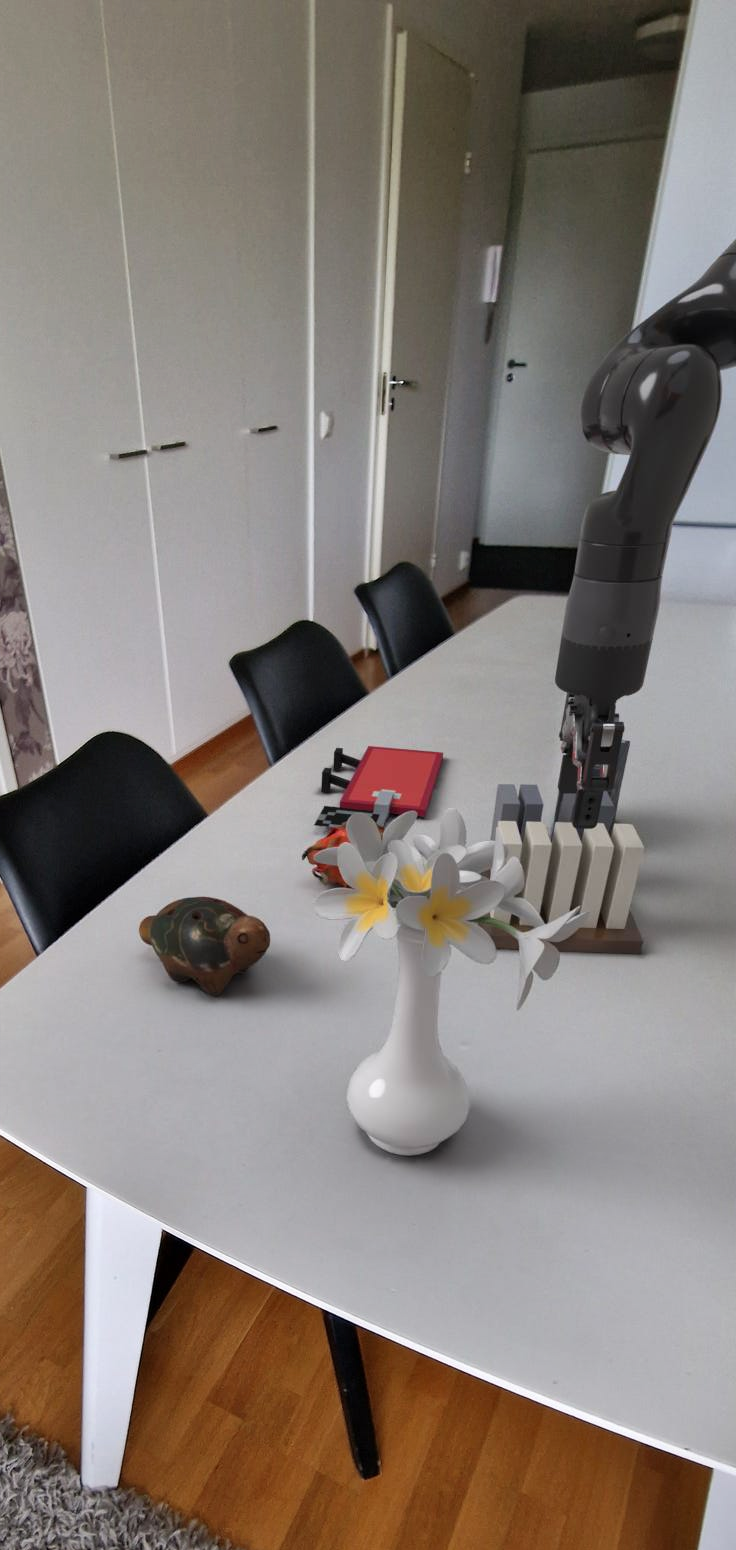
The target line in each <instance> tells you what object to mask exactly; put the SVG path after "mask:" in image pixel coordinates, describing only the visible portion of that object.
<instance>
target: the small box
mask: <svg viewBox="0 0 736 1550" xmlns="http://www.w3.org/2000/svg"><path fill="white" fill-rule="evenodd" d="M630 747H631V741H630V740H624V739H622V742H621V747H620V753H619V758H618V764H617V769H616V774H615V780H614V787H613V789H612V791H607V792H608V794H609V797H610V799H611V801H612V803H613V805H614V810H613V814H612V819H611V823H610V828H609V833H608V834H609V835H610V833H611V831H612V829H613V827H614V824H615V821H616V816H617V811H618V805H619V798H620V794H621V789H622V784H623V780H624V775H625V770H626V765H627V762H628V761H627V760H628V756H629V751H630ZM592 777H600V767H599V766H594V767H593V773H592ZM563 794H564V793H560V792H559V790H558V791H557V796H556V797H557V798H556V803H555V808H554V815H553V821H552V829H551V834H550V841H551V844H552V838H553V833H554V827H555V822H559V816H560V811H561V805H562V800H563Z"/></svg>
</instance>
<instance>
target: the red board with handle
mask: <svg viewBox="0 0 736 1550" xmlns="http://www.w3.org/2000/svg"><path fill="white" fill-rule="evenodd" d="M443 759H444V752H441V751H429V750H419V749H407V748H396V747H386V746H376V745H375V746H374V745H368V746H367V747H366V750H365V752H364V753H363V756H362V757H361V759H358V758H355V757H353V756H350V755H347V754H344V748H343V747H336V748H335V750H334V751H333V764H332V765H333V766H332V767H324V768H323V769H322V772H321V786H320V787H321V789H320V793H329V792H330V790H331V787H332V785H334V786H336V787H339V788H341V789H343V790H345V791H344V793H343V794H342V796H341V798H340V800H339V806H330V805H324V806H323V807H322V810H321V811H320V813H319V815H318V816H317V819H316V820H315V822H314V824H313V826H315V827H317V826H318V827H325V828H326V827H327V828H332V827H338V826H342V823H344V822H347V821H348V819H349V817H351V815H353V814H356V813H364V814H367V815H368V816H370V817H371V818H372V819H373V820H374V822H376V823H377V824H379V825H380V826H382V827H383V828H384V824H385V822H386V820H388V819H389V816H390V814H392V815H393V814H395V815H402V814H404V813H406V812H408V811H416V812H417V817H424V818H425V817H426V815H427V812H428V809H429V805H430V802H431V799H432V796H433V792H434V789H435V785H436V783H437V779H438V775H439V772H440V769H441V766H442V762H443ZM343 764H344V765H347V766H350V767H352V768H355V771H354V773H353V774H352V777H351V778H350V780H349V779H346V778H343V777H341V776H338V775H336V774H333V773H332V771H333V772H341V770H342V768H343Z"/></svg>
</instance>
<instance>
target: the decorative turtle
mask: <svg viewBox="0 0 736 1550" xmlns="http://www.w3.org/2000/svg"><path fill="white" fill-rule="evenodd" d="M138 934H139V936H140V939H141V941H143V942H144V943H145V944H146V945H149V946H152V949H153V952H154V953H155V955H156V956H157V957H158V959H159V961H161V963H162V965H163V967H164V969H165V971H166V973H167V975H168V977H169V978H170V980H172V981H173V982H175V983H183V982H185V981H187V980H189V979H190V978H191V979H193V980H194V981H195V982H197V983H198V985H199V986H200V987H201V989H202V990H203V991H204V993H205V994H207V995H209V996H212V997H217V996H218V995H220V993H222V991H224V989H225V987H226V985H227V983H228V982H229V981H230V979H231V978H232V977H233V976H234V975H235V974H237V973H238V974H244V973H246V972H247V971H248V970H249V968H250V967H252V966H253V965H255V964H256V963H258V961H259V960H261V959H262V958H263V957H264V955H265V954H266V953H267V951H268V949H269V948H270V946H271V933H270V931H269V929H268V927H267V926H266V924H265V922H263V921H262V920H261V919H260V918H258V917H256V916H254V915H249V914H247V913H246V912H244V911H243V910H242V909H240V908H239V907H237V906H235V905H234V904H232V903H230V902H227V901H226V900H223V899H220V898H215V897H210V896H191V897H184V898H180V899H177V900H174V901H172V902H170V903H168V904H167V905H165V906H164V907H163V908H161V910H159V911H158V912H157V913H156V914H154V915H148V916H146V917H144V918H143V919H142V920H141V921H140V924H139V926H138Z"/></svg>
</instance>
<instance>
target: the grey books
mask: <svg viewBox="0 0 736 1550" xmlns="http://www.w3.org/2000/svg"><path fill="white" fill-rule="evenodd" d="M575 798H576V794H565V793H564V794H563V800H562V805H561V811H560V816H559V822H571V820H572V815H573V809H574V803H575ZM493 810H494V811H493V818H492V825H491V831H490V832H491V833H490V839H489V841H495V836H496V827H498V821H516V823H517V827H518V830H519V834H520V838H521V841H522V846H523V840H524V834H525V828H526V822H542V816H543V811H544V801H543V799H542V796H541V793H540V790H539V787H538V785H537V784H523V783H522V784H520V785H519V790H518V792H517V789H516V785H515V784H514V783H498V784H497V788H496V796H495V802H494V809H493ZM613 810H614V805H613V803H612V801H611V799H610V797H609V794H608V792H607V791H604V792H603V797H602V802H601V807H600V812H599V817H598V822H597V823H604V825H605V828H606V830H607V832H608V833H609V828H610V823H611V819H612V814H613ZM571 823H572V822H571ZM576 830H577V833H578V835H579V838H580V841H581V843H582V838H583V833H584V829H576ZM609 834H610V833H609ZM521 853H522V850H521ZM520 859H521V856H520ZM491 869H492V868H491ZM491 869H490V872H491Z"/></svg>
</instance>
